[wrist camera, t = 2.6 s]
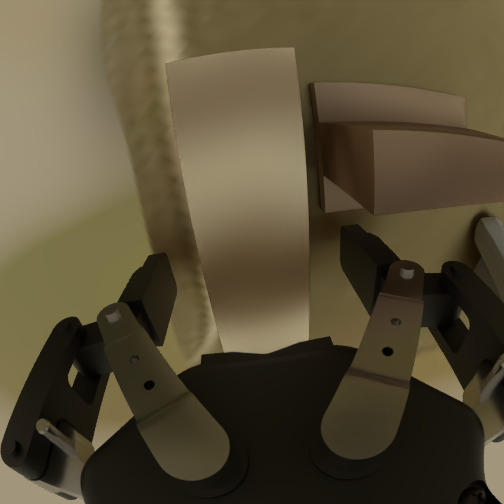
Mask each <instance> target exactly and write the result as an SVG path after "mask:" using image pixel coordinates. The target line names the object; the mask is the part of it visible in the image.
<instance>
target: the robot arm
mask: <svg viewBox="0 0 504 504" xmlns="http://www.w3.org/2000/svg"><path fill="white" fill-rule="evenodd" d="M340 261H341V266H342V269H343V271H344V273H345V275H346V276H347V278H348V280H349V281H350V283H351V285H352V286H353V288H354V290H355V291H356V293H357V295H358V296H359V298H360V300H361V301H362V303H363V305H364V307H365V308H366V310H367V312H368V314H369V315H370V316H371V318H370V320H369V323H368V326H367V328H366V331H365V333H364V336H363V338H362V341H361V343H360V346H359V348H358V349H357V348H353V347H348V346H341V345H333V343H332V340H331V338H330V336H329V337H324V338H318V339H313V340H308V341H302V342H298V343H295V344H293V345H290V346H287V347H285V348H282V349H279V350H276V351H274V352H271V353H267V354H259V353H244V352H224V353H214V354H203V355H202V356H201V364H199V365H196V366H194V367H191V368H189V369H187V370H185V371H183V372H182V373H180V374H178V375H176V373H175V372H174V371H173V370H172V368H171V367H170V365H169V364H168V363H167V361H166V360H165V359H164V357H163V356H162V354H161V353H160V351H159V350H158V349H157V347H156V346H163V343H164V340H165V336H166V332H167V328H168V324H169V321H170V317H171V313H172V310H173V306H174V302H175V299H176V295H177V286H176V282H175V279H174V276H173V273H172V270H171V266H170V263H169V260H168V257H167V255H166V254H165V253H159V254H153V255H149V256H148V258H147V260H146V261H145V263H144V265H143V267H140V268H139V269H138V270H136V271H135V272H134V273H133V275H132V276H131V278H130V280H129V282H128V283H127V285H126V288H125V289H124V291H123V293H122V294H121V296H120V298H119V300H118V302H117V303H113V304H110V305H108V306H106V307H105V308H103V310H101V311H100V312H99V314H98V316H97V322H93V323H90V324H87V325H84V326H82V324H81V322H80V321H79V319H78V318H77V317H68V318H65V319H63V320H62V321H60V322H59V323H58V324H57V325H56V326H55V328H54V329H53V331H52V332H51V334H50V336H49V338H48V340H47V341H46V343H45V345H44V347H43V349H42V350H41V352H40V354H39V356H38V358H37V360H36V362H35V364H34V366H33V368H32V370H31V372H30V374H29V376H28V379H27V380H26V382H25V384H24V387H23V389H22V391H21V393H20V396H19V398H18V400H17V403H16V405H15V408H14V410H13V413H12V415H11V418H10V420H9V423H8V426H7V428H6V431H5V434H4V437H3V440H2V443H1V457H2V459H3V461H4V463H5V464H6V465H7V466H9V467H10V468H12V469H13V470H15V471H16V472H18V473H20V474H21V475H23V476H24V477H25V478H26V479H28V480H29V481H31V482H33V483H35V484H36V485H38V486H40V487H42V488H44V489H45V490H48V491H49V492H52V493H55V494H57V495H59V496H61V497H63V498H66V499H68V500H74V499H77V498H80V499H83V500H84V502H85V504H502V503H500V502H499V501H498V500H497V499H496V498H495V496H494V495H493V494H492V493H491V492H490V490H489V489H488V487H487V484H486V481H485V474H484V446H485V445H487V444H488V443H490V442H491V441H492V442H500V441H503V440H504V303H503V302H502V301H501V300H500V299H499V297H498V296H497V295H496V294H495V293H494V292H493V291H492V290H491V289H490V288H489V287H488V286H487V285H486V284H485V283H484V282H483V281H482V280H481V279H480V277H479V276H477V275H476V274H475V273H474V272H473V271H472V270H471V269H470V268H469V267H468V266H467V265H465V264H463V263H461V262H457V261H448V262H445V263H444V264H443V265H442V269H441V273H424V269H423V268H422V267H421V266H420V265H419V264H417V263H415V262H412V261H407V260H400V259H399V258H398V257H397V255H396V254H395V253H394V252H393V251H392V250H391V249H390V248H389V247H388V246H387V245H386V244H384V242H383V241H382V240H381V239H380V238H379V237H377V236H375V235H373V234H371V233H366V232H365V231H364V230H363V229H362V228H361V227H360V226H359V225H358V224H355V225H348V226H342V227H341V231H340ZM461 310H463V311H464V313H465V314H466V315H467V317H468V319H469V322H470V328H469V330H468V329H467V327H466V326H465V325H464V323H463V322H462V321H461V319H460V318H459V316H460V313H461ZM421 327H428V329H429V330H430V332H431V334H432V335H433V337H434V338H435V340H436V342H437V343H438V345H439V347H440V348H441V350H442V352H443V353H444V355H445V357H446V358H447V360H448V362H449V364H450V365H451V367H452V369H453V371H454V373H455V375H456V376H457V378H458V380H459V382H460V384H461V386H462V388H463V390H464V392H463V402H461V401H459V400H457V399H455V398H453V397H451V396H449V395H447V394H445V393H443V392H441V391H439V390H437V389H435V388H433V387H431V386H429V385H427V384H425V383H423V382H421V381H419V380H418V379H416V378H414V377H412V376H411V375H412V370H413V366H414V361H415V357H416V352H417V346H418V341H419V335H420V329H421ZM72 364H73V365H74V366H75V368H76V369H77V370H78V373H77V375H76V378H75V381H74V384H73V386H72V387H71V386H70V384H69V382H68V373H69V371H70V368H71V366H72ZM111 372H113V373H114V375H115V378H116V380H117V382H118V384H119V386H120V389H121V391H122V393H123V395H124V397H125V399H126V401H127V403H128V405H129V407H130V409H131V411H132V413H133V415H134V416H133V417H132V418H131V419H130V420H129V421H128V422H127V423H126V424H125V425H124V426H122V427H121V428H120V429H119V430H118V431H117V432H116V433H115V434H114V435H113V436H112V437H111V438H109V439H108V440H107V441H106V442H105V443H104V444H103V445H102V446H101V447H99V448H98V449H97V450H96V451H94V447H93V445H92V440H93V436H94V431H95V427H96V423H97V419H98V415H99V411H100V407H101V403H102V400H103V396H104V392H105V389H106V385H107V382H108V379H109V375H110V373H111Z"/></svg>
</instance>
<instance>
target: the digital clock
mask: <svg viewBox="0 0 504 504" xmlns="http://www.w3.org/2000/svg"><path fill="white" fill-rule="evenodd" d="M474 239H475V243H476V246H477V248H478V250H479V252H480V253H481V255H482V256H481V258H480V260H479V261H478V263H477V265H476V267H475V268H474V270H473V272H474V273H475V274H476V275H477V276H479V277H480V279H481V280H482V281H483V282H484V283H485V284H486V285H487V286H488V287H489V288H490V289H491V290H492V291H493V292H494V293H495V294H496V295H497V296H498V297H499V299H500V300H501V301H502V302H503V303H504V224H503V223H502V222H501V221H500V220H499V219H498V218H497V217H495V216H494V217H485V218H481V219H480V220H479V222H478V223H477V225H476V228H475V236H474Z"/></svg>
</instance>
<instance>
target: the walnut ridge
mask: <svg viewBox="0 0 504 504" xmlns="http://www.w3.org/2000/svg"><path fill="white" fill-rule="evenodd" d="M309 86H310V93H311V101H312V109H313V118H314V127H315V137H316V147H317V159H318V171H319V186H320V204H321V208H322V210H323V211H324V212H325V213H330V212H338V211H347V210H355V209H363V208H365V209H366V210H368V211H369V212H370V213H371V214H372V215H374V216H376V215H384V214H392V213H401V212H409V211H418V210H427V209H436V208H445V207H454V206H464V205H474V204H484V203H495V202H504V138H501V137H498V136H494V135H491V134H487V133H483V132H479V131H475V130H471V129H466V119H465V101H464V97H459V96H455V95H451V94H446V93H441V92H436V91H430V90H424V89H418V88H411V87H403V86H394V85H384V84H371V83H352V82H314V83H311V84H309Z"/></svg>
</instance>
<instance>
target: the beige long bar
mask: <svg viewBox="0 0 504 504" xmlns="http://www.w3.org/2000/svg"><path fill="white" fill-rule="evenodd" d="M165 65H166V73H167V81H168V89H169V96H170V103H171V110H172V117H173V123H174V130H175V136H176V142H177V148H178V154H179V160H180V165H181V171H182V176H183V181H184V187H185V192H186V197H187V202H188V207H189V212H190V216H191V221H192V226H193V231H194V235H195V240H196V244H197V249H198V253H199V257H200V262H201V266H202V270H203V274H204V278H205V282H206V287H207V291H208V295H209V298H210V302H211V306H212V310H213V314H214V318H215V321H216V325H217V329H218V333H219V336H220V340H221V343H222V347H223V350H224V352H244V353H259V354H267V353H271V352H274V351H276V350H279V349H282V348H285V347H287V346H290V345H293V344H295V343H298V342H302V341H308V339H309V293H310V263H309V216H308V192H307V174H306V158H305V144H304V132H303V120H302V110H301V100H300V91H299V82H298V74H297V66H296V58H295V51H294V47H289V48H264V49H250V50H240V51H231V52H223V53H216V54H210V55H204V56H198V57H193V58H188V59H183V60H179V61H174V62H170V63H166V64H165Z"/></svg>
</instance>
